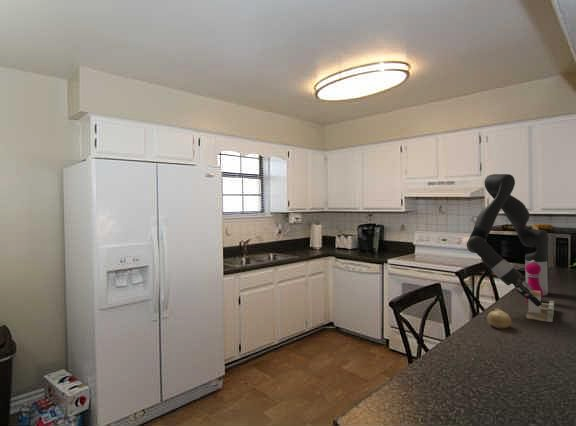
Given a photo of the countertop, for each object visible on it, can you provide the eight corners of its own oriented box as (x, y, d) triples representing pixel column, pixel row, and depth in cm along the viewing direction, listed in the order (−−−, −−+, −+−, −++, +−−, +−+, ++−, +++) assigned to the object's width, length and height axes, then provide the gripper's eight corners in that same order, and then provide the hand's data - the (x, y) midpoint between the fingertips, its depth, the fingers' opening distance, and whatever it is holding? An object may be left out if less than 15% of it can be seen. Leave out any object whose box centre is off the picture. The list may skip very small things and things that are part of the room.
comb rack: (530, 306, 156) (530, 298, 156) (554, 310, 150) (553, 301, 150) (526, 318, 142) (526, 308, 141) (552, 322, 136) (552, 312, 136)
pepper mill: (537, 299, 167) (536, 258, 166) (546, 303, 160) (546, 261, 159) (521, 299, 168) (520, 259, 167) (530, 303, 161) (529, 261, 160)
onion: (513, 326, 134) (512, 308, 134) (509, 332, 128) (508, 313, 128) (490, 321, 139) (489, 304, 139) (485, 327, 133) (484, 309, 133)
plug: (529, 310, 147) (529, 289, 146) (540, 312, 144) (540, 291, 144) (528, 313, 144) (528, 291, 143) (540, 314, 141) (540, 293, 141)
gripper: (510, 269, 143) (547, 302, 135) (515, 264, 154) (549, 294, 146) (496, 280, 146) (531, 313, 139) (501, 274, 157) (534, 305, 150)
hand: (540, 303), depth 142 cm, fingers closed on plug, 3 cm apart
